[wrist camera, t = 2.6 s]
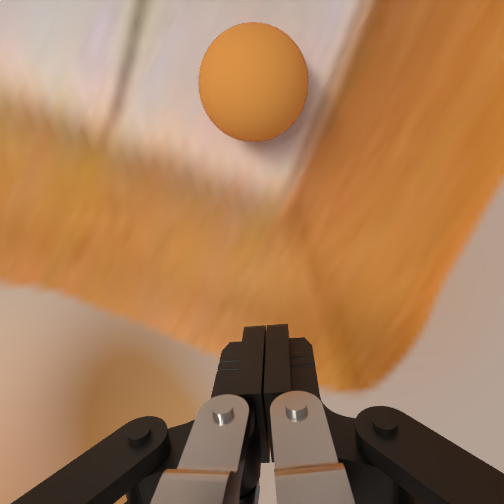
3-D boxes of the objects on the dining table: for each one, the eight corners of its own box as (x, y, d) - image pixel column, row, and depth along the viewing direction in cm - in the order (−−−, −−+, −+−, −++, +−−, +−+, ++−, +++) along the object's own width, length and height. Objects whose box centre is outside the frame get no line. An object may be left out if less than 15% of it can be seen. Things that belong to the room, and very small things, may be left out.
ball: (201, 41, 22) (178, 18, 16) (300, 28, 21) (309, -1, 16) (215, 143, 23) (198, 151, 18) (307, 133, 23) (316, 138, 18)
